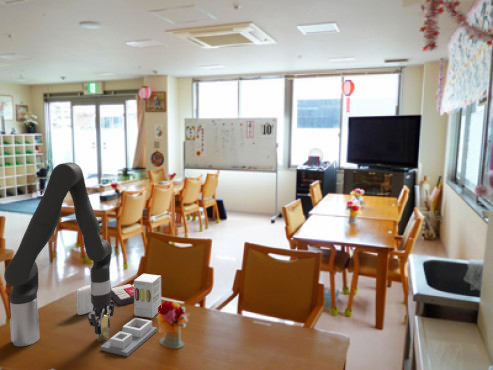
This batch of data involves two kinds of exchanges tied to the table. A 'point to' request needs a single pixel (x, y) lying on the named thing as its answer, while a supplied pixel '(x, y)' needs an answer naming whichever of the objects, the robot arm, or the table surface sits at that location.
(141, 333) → the grey holder tray
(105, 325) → the yellow bottle
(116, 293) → the printed cardboard box
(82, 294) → the photo printer
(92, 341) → the table surface
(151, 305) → the supplement box
